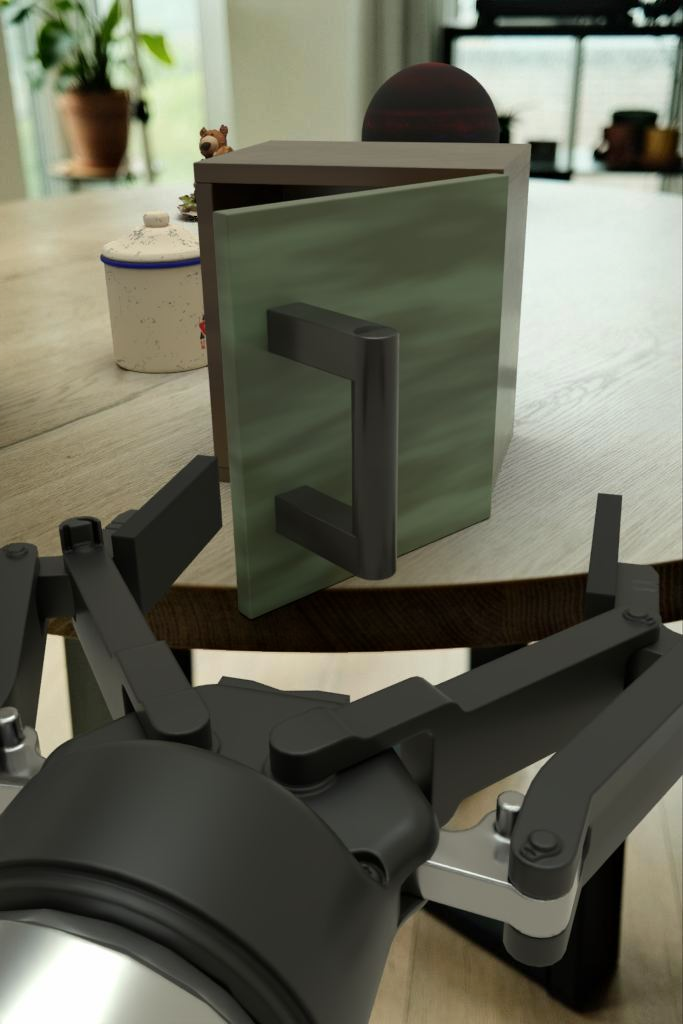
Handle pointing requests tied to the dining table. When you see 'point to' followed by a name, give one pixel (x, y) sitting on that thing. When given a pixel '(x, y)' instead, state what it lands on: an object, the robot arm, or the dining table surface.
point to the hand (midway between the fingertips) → (398, 510)
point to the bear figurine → (209, 147)
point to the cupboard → (348, 169)
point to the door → (358, 377)
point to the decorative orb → (431, 108)
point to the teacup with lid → (156, 297)
